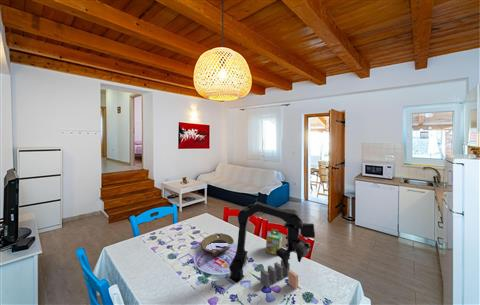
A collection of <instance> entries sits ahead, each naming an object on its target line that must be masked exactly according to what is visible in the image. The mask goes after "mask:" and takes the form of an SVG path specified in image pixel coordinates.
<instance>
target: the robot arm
mask: <svg viewBox="0 0 480 305" xmlns="http://www.w3.org/2000/svg"><path fill="white" fill-rule="evenodd" d="M258 212H259V213H263V214H266V215H270V216H273V217H276V218H279V219H281V220H283V221H284V223H283V228H285V229H286V228H287V229H286V231H287V232H286V233H287V235H286V236H285V239H286V244H285V247H286V248H287V249H285V248H284V247H282V248H280V249H278V250H276V255H275V256H277V257H279V258H280V259H281V260H282V261H283V263H284V265H285V267H286V268H287V269H288V263H289V260H290V259H291V253H295V252H296V258H297V262H299V263H301V261H302V259H303V258H305V257H307V256H308V254H309V253H310V252H311V244H310V242H307V241H305V240H303V239H301V238H300V236H301V237H302V238H311V239H315V238H316V237H315V236H316V232H315V224H314V223H312V222H311V223H303V220H302V219H301V218H300V215H299V213H298V211H297V210H295V209H290V208H288V209H287V208H279V207H276V206H272V205H270V204H269V205H268V204H265V203H263V202H260V201H256V202H255V203H252V204H249V205H248V206H243V207H242V208H241V209H240V210H239V211H238V212H237V222H238V234H237V245H236V250H235V251H236V252H235V254H234V257H233V259H232V260H231V263H230V264H229V266H228V269H229V272H230V275H229V276H228V279H229V280H231V281H233V282H235V283H237V284H238V283H239V282H240V281H242V279H244V278H245V275H244V269H243V267H244V265H245V264H246V261H247V260H248V251H247V250H246V249H245V248H246V238H247V228H248V223H249V220H250V217H252V216H253V215H255V214H256V213H258Z"/></svg>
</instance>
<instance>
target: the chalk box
mask: <svg viewBox="0 0 480 305" xmlns="http://www.w3.org/2000/svg"><path fill="white" fill-rule="evenodd" d="M265 241H266V243H265V245H266V246H265V249H266V250H265V253H266V254H269V255H274V256H277V255H276V250H278V249H280V248H283V233H281V232H279V229H274V228H272V229H271V230H270V231H269V232H268V233H267V235H266V240H265Z"/></svg>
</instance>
